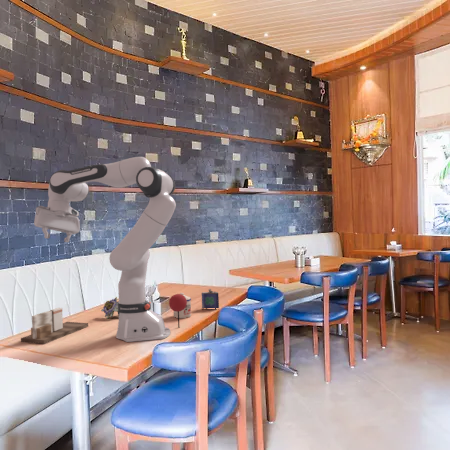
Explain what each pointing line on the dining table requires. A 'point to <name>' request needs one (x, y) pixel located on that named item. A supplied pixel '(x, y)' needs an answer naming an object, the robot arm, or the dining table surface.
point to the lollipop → (177, 303)
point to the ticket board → (57, 333)
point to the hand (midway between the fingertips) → (57, 240)
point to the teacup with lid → (186, 311)
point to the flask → (210, 299)
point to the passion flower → (110, 307)
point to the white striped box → (57, 319)
